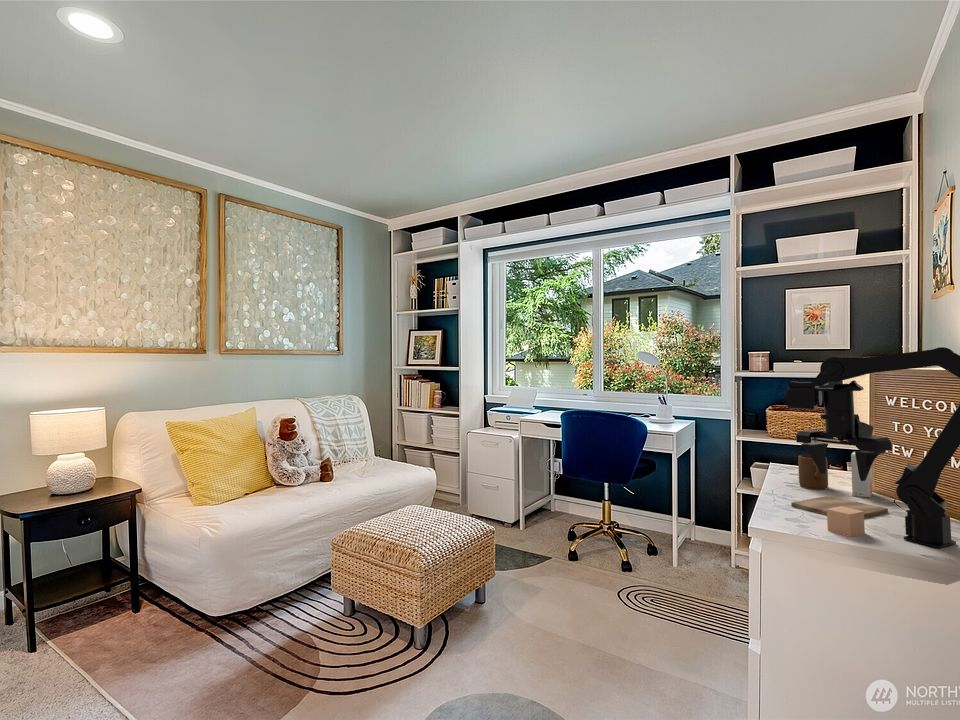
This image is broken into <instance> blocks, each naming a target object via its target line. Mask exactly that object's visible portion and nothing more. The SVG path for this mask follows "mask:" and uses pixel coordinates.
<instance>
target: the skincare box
mask: <svg viewBox="0 0 960 720" xmlns="http://www.w3.org/2000/svg"><path fill="white" fill-rule="evenodd" d="M850 457H851V458H850V462H851V463H850V464H851V490H852V492H851V493H852V497H858V498H859V497H860V498H867V497H870V498H871V497H872V495H873V472H872V471H873V470H872V466H871V468H870V471H869V473H868V476H867V478H866V480H865V481H861V480H860V477H859V473H858V467H857V461H856V455H855V451H853V452H851V454H850Z"/></svg>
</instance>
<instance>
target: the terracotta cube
mask: <svg viewBox="0 0 960 720" xmlns="http://www.w3.org/2000/svg"><path fill="white" fill-rule="evenodd" d="M826 521H827V531H829V532H832V533H835V532H836V533H837V534H839V535H844V536H846V537H850V538H852V537H855V536H859V535H863V534H866V531H865V529H866V528H865V518H864V511H860V510H855V509H851V508H847V507H843V506H839V507H834V508H830V509H827V515H826Z"/></svg>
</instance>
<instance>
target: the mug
mask: <svg viewBox="0 0 960 720" xmlns="http://www.w3.org/2000/svg"><path fill="white" fill-rule="evenodd" d="M797 460H798V462H797V465H798V466H797V467H798V468H797V469H798V483H799V486H800V487H801V488H804V489H808V490H818V491H819V490H821V491H822V490H826V489H828V488H829V469H828V464H829V463H828V459H827V457H826V473H825V474H821V472H820V471H819V469H818V467H817V466H816V464H815V462H814V460H813V459H812V457H811V456H810V454H800V455H798V459H797Z"/></svg>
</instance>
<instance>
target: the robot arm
mask: <svg viewBox="0 0 960 720" xmlns="http://www.w3.org/2000/svg"><path fill="white" fill-rule="evenodd" d="M928 367H941V368H942V369H944V370H945V371H947V372H948V373H951V374H952V375H954V376H956V377H957V378H959V379H960V354H958V353H956V352H954V351H953V350H952V349H951V348H948V347H944V346H943V347H942V346H941V347H940V346H939V347H935V348H933V349H926V350H925V349H923V350H918V351H911V352H910V351H908V352H902V353H894V354H893V353H892V354H886V355H885V354H884V355H878V356H870V357H869V356H867V357H866V356H830V357H827V358H826V359H824V360H823V361H822V362H821V365H820V367H819V369H820V371H819V373H818V374H817V375H816V376H815V378H813V380H812V381H805V382H803V381H801V382H799V381H788V383H787V385H788V387H787V390H786V394H785V402H786V407H787V408H788V409H789V410H815V411H816V410H817V409H818V406H822V404H823V408H824V414H820V419H821V420H824V426H825V427H824V428H825V430H820V429H805V430H803V429H802V430H798V431H797V433H796V435H795V441H796V443H801V444H800V445H801V446H800V447H804V449H805V450H806V451H807V453H808V455H810V456H811V457H812V459H813V460H814V462H815V464H816V466H817V467H818V469H819V471H820V472H821V474H825V473H826V458H827V456H826V451H827V448H828V445H829V443H830V444H837V445H838V444H839V445H846V446H855V447H856V448H857V450H856V451H854V452H855V455H856V461H857V467H858V473H859V477H860V480H861V481H865V480H866V478H867V476H868V473H869V471H870V468H871V466H872V465H873V463H874V462H875V460H876V458H877V457H878V456H879V455H880V454H881V455H882V454H885V453H886V452H887V451H892V449H893V445H892V444H893V442H892V441H891V440H890V438H889V437H887V436H881V435H880V436H878V435H873V433H874V429H875V428H874V427H875V426H873V425H871V424H868V423H865V422H862V421H861V420H860V416H859V414H857V413H855V404H854V392H860V391H864V390H865V389H864V386H862V385H860V384H859V383H858V382H857V381H856V380H854V378H858V377H861V376H866V375H869V374H875V373H883V372H892V371H893V372H894V371H901V370H910V369H920V368H928ZM851 379H853V380H851ZM846 380H851V381H850V382H849V383H834V382H841V381H846ZM832 383H834V384H833V387H824V386H826V385H827V386H828V385H830V384H832ZM835 438H836V439H835ZM959 447H960V402H959V404H958V406H957V408H955V411H954V412H953V414H952V415H951V416H950V418H949V419H948V421H947V422H946V424H945V425H944V427H943V428H942V430H941V431H940V433H939V434H938V436H937V438H936V439H935V440H934V442H933V444H932V445H931V446H930V448H929V450H928V451H927V452H926V454H925V455H924V457H923V458H922V460H921V461H920V462H919V463H917V464H916V465H915V466H914V465H912V464H910V463H907V464H906V465H905V468H904V470H903V472H902V475H900V476H898V477H897V479H896V480H895V482H894V484H895V485H897V487H896V489H895V493H896V496H897V498H898V499H899V500H900V501H901V502H902V504H904V505H905V506H906V505H907V507H908V509H906V514H907V515H905V516H904V522H905V523H904V525H905V527H904V528H905V536H903V540H905V541H910V542H912V543H913V542H914V543H917V544H919V545H920V544H921V545H924V546H928V547H932V548H935V549H942V548H946V547H949V546H953V545H957V540H953V539H952V527H951V526H952V525H951V524H952V523H951V514H946V509H947V504H948V501H947V500H946V499H945V498H943V496H941V495H940V494H939V493H938V492H936V491H935V490H936V487H937V485H938V482H939V479H940V477H941V475H942V471H944V469H945V468H946V466H947V464H948V463H949V461H950V460H951V459H952V457H953V455H954V454H955V453H956V451H957V450H958V448H959Z"/></svg>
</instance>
